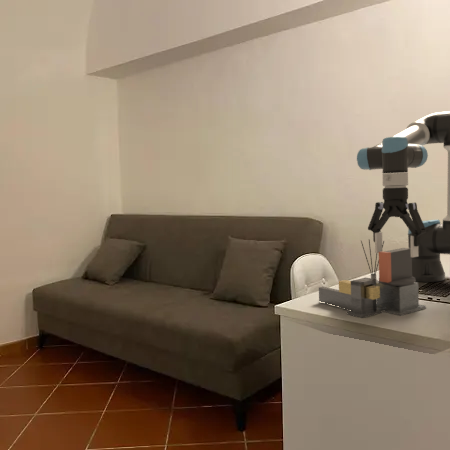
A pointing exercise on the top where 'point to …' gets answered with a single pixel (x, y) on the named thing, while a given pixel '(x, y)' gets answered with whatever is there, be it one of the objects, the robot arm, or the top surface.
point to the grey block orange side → (396, 267)
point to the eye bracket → (352, 298)
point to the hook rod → (369, 290)
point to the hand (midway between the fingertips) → (396, 254)
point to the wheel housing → (399, 299)
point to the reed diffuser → (373, 276)
